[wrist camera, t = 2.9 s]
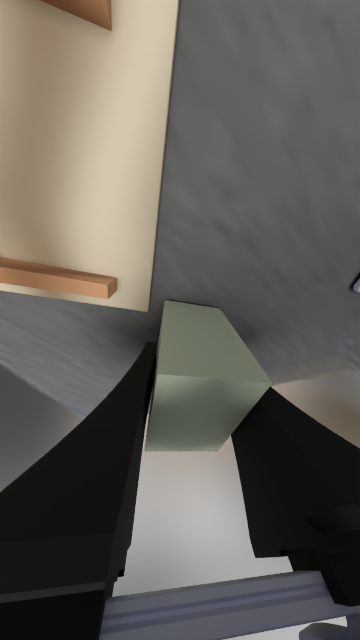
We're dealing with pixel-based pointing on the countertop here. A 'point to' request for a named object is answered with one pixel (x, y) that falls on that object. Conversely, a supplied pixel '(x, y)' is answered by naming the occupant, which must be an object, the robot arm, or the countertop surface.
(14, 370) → the countertop surface
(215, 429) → the chute block
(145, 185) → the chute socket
